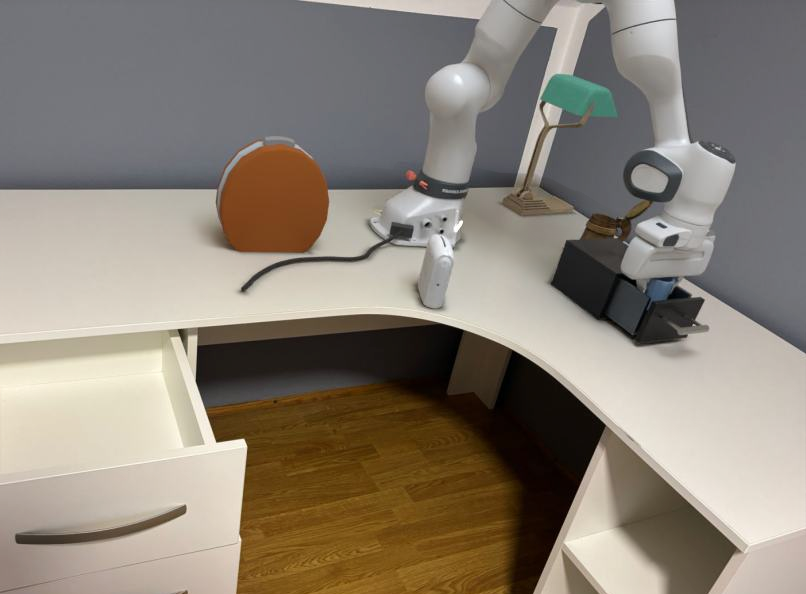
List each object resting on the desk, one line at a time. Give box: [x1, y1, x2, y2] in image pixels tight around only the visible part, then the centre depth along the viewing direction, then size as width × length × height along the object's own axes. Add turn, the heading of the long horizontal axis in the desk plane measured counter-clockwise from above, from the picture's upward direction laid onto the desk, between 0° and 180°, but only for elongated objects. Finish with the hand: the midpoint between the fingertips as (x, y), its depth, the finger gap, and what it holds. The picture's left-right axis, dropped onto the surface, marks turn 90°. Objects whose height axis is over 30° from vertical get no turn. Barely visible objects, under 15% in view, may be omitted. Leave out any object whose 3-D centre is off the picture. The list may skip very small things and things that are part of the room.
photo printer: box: [417, 234, 455, 309], centre depth 137 cm, size 10×4×12 cm, turn 3°
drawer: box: [603, 276, 710, 344], centre depth 139 cm, size 20×13×9 cm
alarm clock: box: [215, 135, 330, 254], centre depth 143 cm, size 22×10×23 cm, turn 108°
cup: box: [646, 277, 675, 310], centre depth 139 cm, size 6×6×6 cm
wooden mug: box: [579, 200, 655, 243], centre depth 165 cm, size 9×14×18 cm, turn 77°
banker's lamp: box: [501, 73, 619, 217], centre depth 190 cm, size 16×21×35 cm
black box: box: [550, 237, 629, 320], centre depth 150 cm, size 16×15×11 cm
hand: (652, 294), depth 140 cm, fingers closed on cup, 5 cm apart
